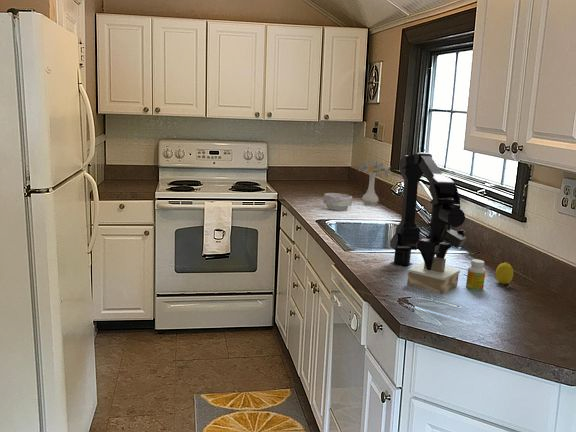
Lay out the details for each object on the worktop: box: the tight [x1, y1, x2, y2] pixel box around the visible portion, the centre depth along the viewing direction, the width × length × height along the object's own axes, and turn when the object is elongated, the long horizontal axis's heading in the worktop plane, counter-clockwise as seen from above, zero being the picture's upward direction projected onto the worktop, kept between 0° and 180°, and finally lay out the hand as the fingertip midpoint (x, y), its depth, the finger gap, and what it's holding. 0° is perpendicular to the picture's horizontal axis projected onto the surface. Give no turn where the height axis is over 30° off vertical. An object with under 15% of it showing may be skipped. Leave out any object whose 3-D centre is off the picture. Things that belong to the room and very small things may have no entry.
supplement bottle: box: [465, 258, 486, 292], centre depth 191 cm, size 5×5×10 cm
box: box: [406, 271, 460, 295], centre depth 192 cm, size 12×12×5 cm
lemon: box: [495, 261, 514, 285], centre depth 199 cm, size 6×6×8 cm
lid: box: [407, 256, 461, 280], centre depth 191 cm, size 12×12×5 cm
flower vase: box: [357, 160, 392, 207], centre depth 335 cm, size 13×18×25 cm
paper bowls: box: [323, 192, 353, 212], centre depth 317 cm, size 15×15×8 cm
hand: (434, 267), depth 191 cm, fingers open, 8 cm apart
